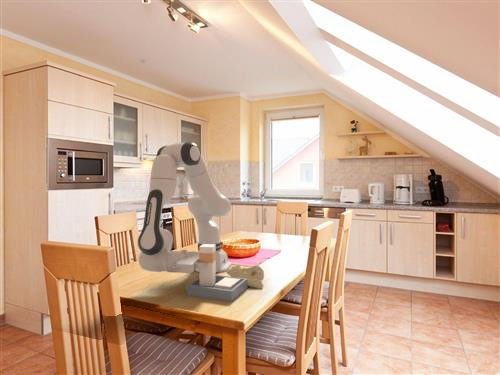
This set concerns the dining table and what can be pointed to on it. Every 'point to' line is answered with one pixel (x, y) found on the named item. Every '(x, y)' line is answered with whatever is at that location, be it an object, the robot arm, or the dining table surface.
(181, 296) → the dining table surface
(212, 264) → the juice carton
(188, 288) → the tote
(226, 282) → the white rectangular block
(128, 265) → the dining table surface
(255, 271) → the beige rock
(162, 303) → the dining table surface
